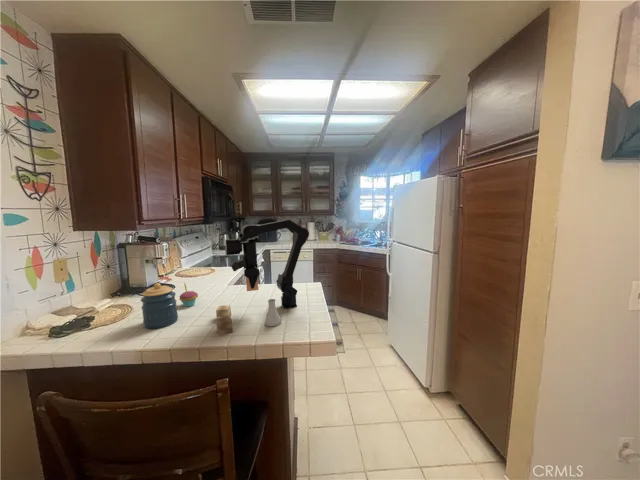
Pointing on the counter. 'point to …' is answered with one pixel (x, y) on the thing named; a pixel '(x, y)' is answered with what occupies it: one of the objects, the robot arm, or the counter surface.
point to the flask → (272, 314)
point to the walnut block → (224, 325)
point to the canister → (159, 307)
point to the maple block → (223, 311)
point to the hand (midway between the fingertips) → (252, 286)
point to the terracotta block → (250, 285)
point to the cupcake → (188, 297)
